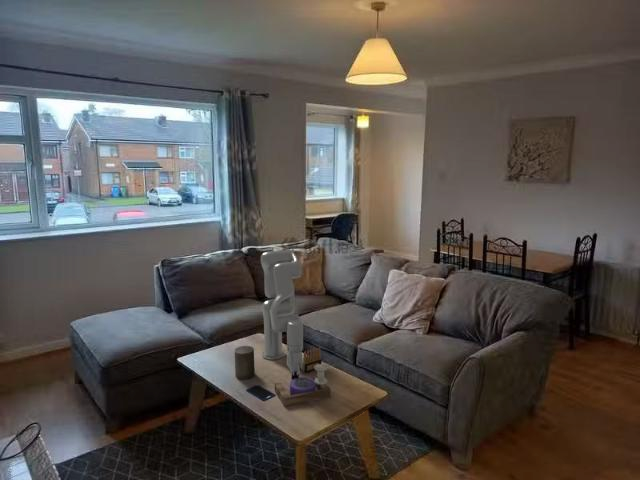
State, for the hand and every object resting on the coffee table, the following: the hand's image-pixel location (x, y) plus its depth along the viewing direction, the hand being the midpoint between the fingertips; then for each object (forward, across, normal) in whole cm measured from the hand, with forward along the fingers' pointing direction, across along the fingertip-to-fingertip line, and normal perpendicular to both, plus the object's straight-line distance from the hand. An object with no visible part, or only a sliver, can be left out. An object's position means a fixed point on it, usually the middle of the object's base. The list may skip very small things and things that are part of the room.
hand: (295, 382), depth 222 cm
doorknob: (-3, +9, +10) cm, 13 cm away
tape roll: (+2, +8, +1) cm, 8 cm away
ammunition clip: (+2, -11, +13) cm, 17 cm away
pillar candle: (+2, -19, -20) cm, 28 cm away
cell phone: (+2, +1, -17) cm, 18 cm away
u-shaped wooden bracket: (+1, +9, 0) cm, 9 cm away
